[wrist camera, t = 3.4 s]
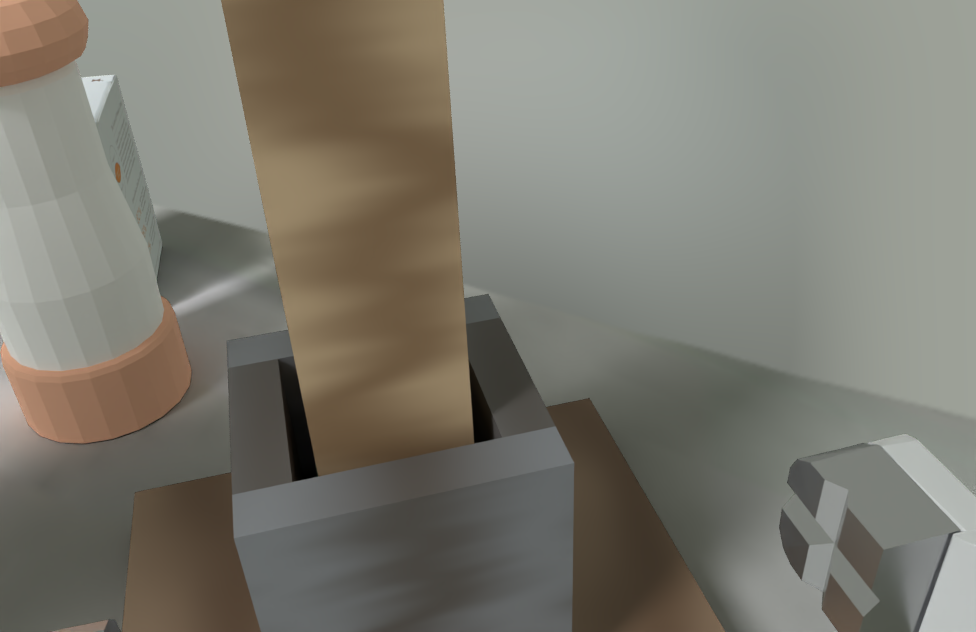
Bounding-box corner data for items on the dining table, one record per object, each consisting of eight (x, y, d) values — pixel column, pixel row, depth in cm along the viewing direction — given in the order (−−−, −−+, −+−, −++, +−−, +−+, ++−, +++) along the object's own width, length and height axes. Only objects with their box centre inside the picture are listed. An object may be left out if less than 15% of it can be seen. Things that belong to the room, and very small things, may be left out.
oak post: (352, 671, 26) (191, -99, 15) (335, 561, 30) (193, -130, 18) (493, 635, 27) (444, -121, 16) (460, 533, 31) (401, -147, 19)
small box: (66, 259, 52) (4, 82, 46) (166, 246, 53) (117, 70, 47) (39, 335, 45) (-38, 140, 39) (153, 318, 46) (95, 125, 40)
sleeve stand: (108, 1000, 21) (-52, 768, 16) (145, 520, 34) (65, 301, 29) (790, 788, 25) (858, 537, 19) (588, 425, 38) (593, 213, 32)
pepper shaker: (199, 417, 39) (66, -42, 29) (21, 463, 37) (-194, -12, 27) (185, 331, 45) (69, -78, 34) (29, 367, 43) (-144, -56, 32)
